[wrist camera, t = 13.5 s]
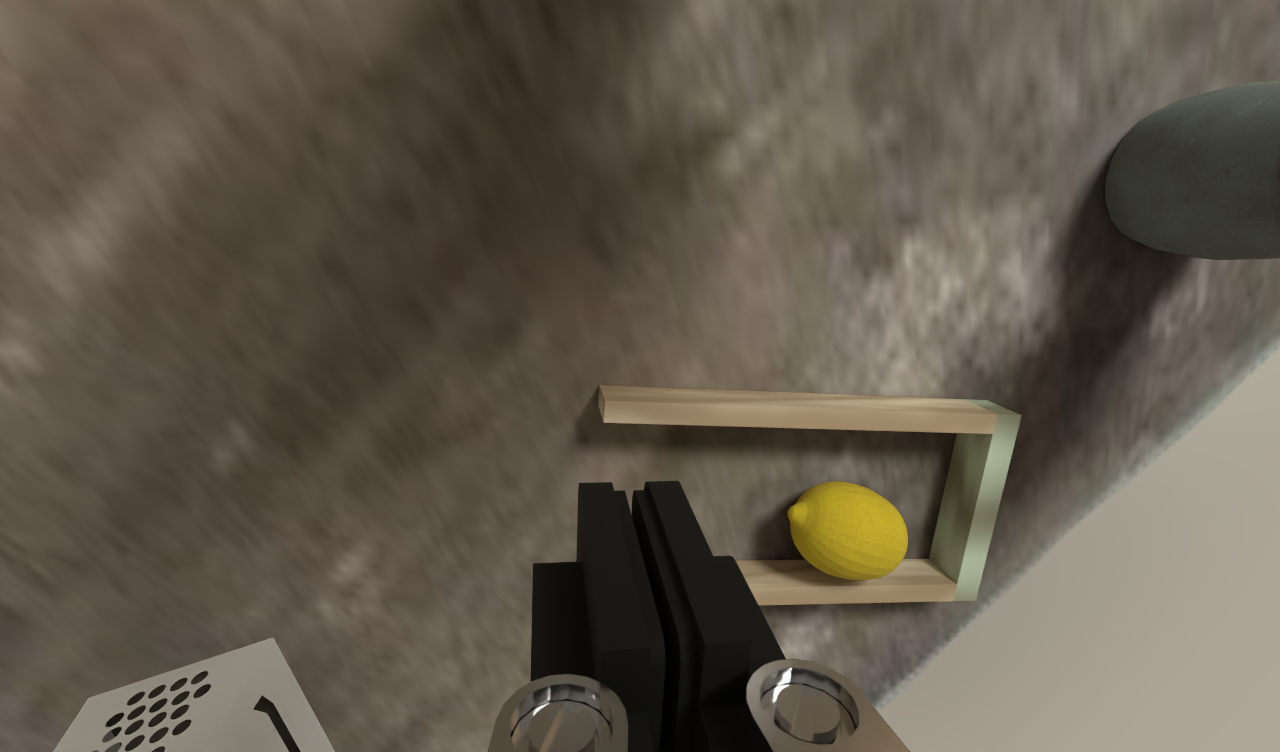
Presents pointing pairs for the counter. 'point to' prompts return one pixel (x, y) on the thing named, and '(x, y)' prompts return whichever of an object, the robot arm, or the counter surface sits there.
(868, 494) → the lemon
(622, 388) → the wooden frame
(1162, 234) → the bottle
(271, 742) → the grater
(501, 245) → the counter surface
